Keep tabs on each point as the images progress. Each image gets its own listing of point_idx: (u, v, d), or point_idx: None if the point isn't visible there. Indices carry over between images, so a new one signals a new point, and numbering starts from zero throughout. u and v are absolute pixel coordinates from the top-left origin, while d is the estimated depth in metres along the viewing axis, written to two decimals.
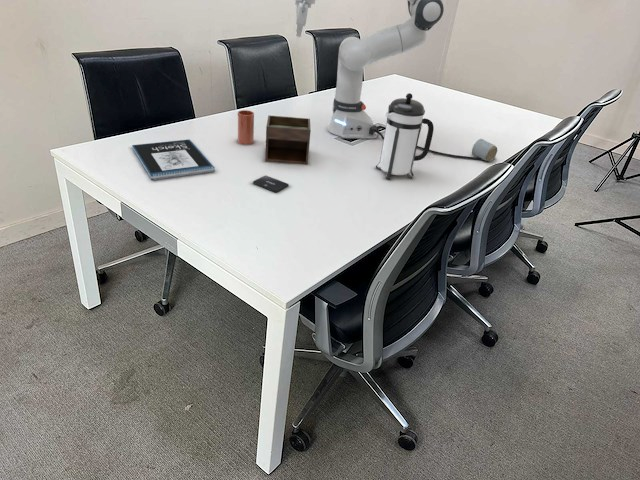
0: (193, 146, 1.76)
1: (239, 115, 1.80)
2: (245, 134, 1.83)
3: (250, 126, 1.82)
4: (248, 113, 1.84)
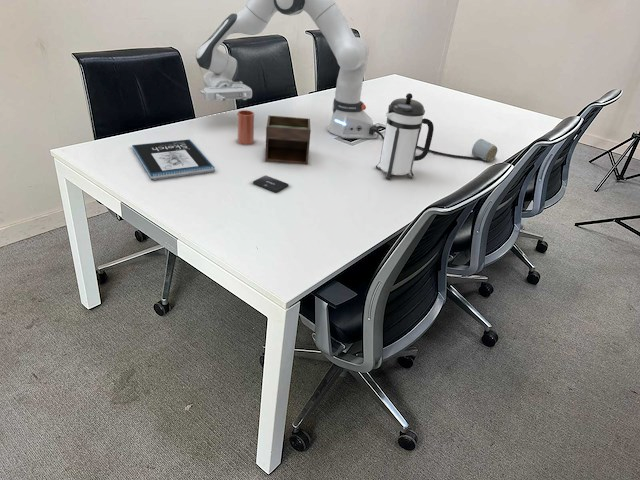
0: (193, 146, 1.76)
1: (239, 115, 1.80)
2: (245, 134, 1.83)
3: (250, 126, 1.82)
4: (248, 113, 1.84)
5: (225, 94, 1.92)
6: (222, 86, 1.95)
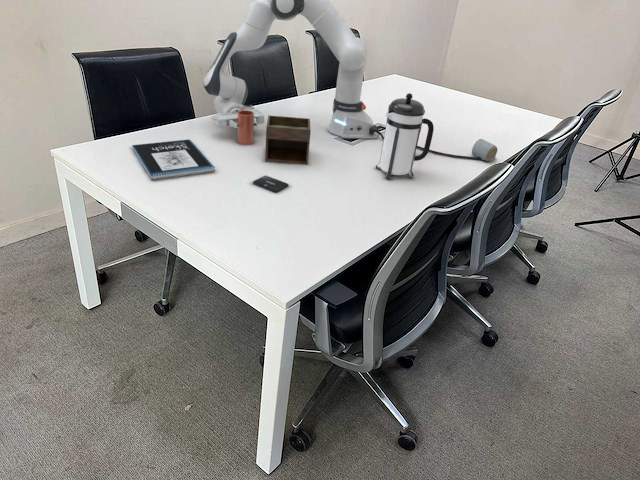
0: (193, 146, 1.76)
1: (239, 115, 1.80)
2: (245, 134, 1.83)
3: (250, 126, 1.82)
4: (248, 113, 1.84)
5: (237, 120, 1.86)
6: (233, 111, 1.89)
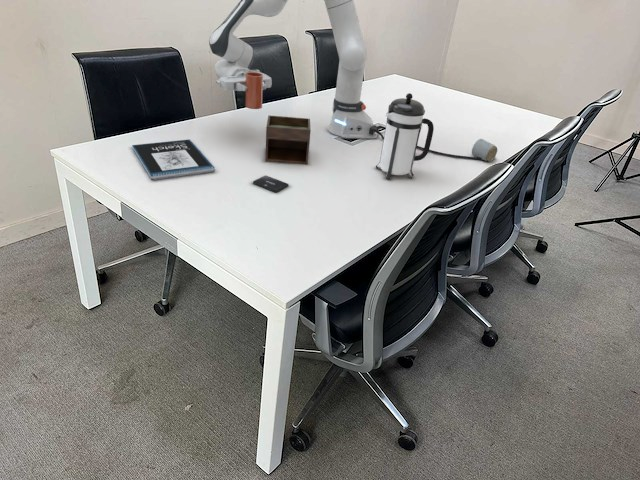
0: (193, 146, 1.76)
1: (248, 77, 1.69)
2: (254, 97, 1.72)
3: (260, 89, 1.72)
4: (256, 75, 1.74)
5: (244, 83, 1.75)
6: (239, 75, 1.78)
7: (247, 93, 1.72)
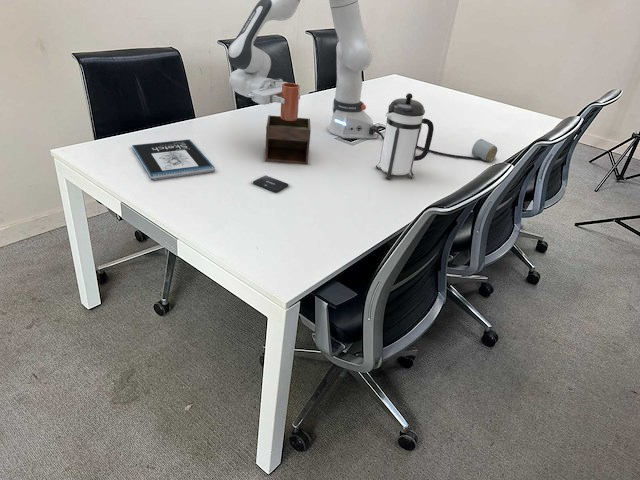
0: (193, 146, 1.76)
1: (287, 88, 1.63)
2: (293, 109, 1.67)
3: (298, 99, 1.66)
4: (290, 86, 1.68)
5: (277, 95, 1.68)
6: (268, 86, 1.70)
7: (285, 105, 1.66)
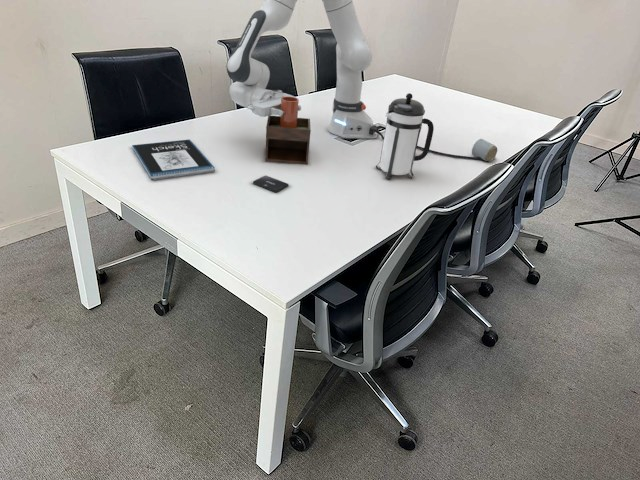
0: (193, 146, 1.76)
1: (286, 102, 1.65)
2: (292, 122, 1.69)
3: (297, 113, 1.69)
4: (289, 99, 1.70)
5: (277, 107, 1.70)
6: (268, 98, 1.72)
7: (284, 119, 1.69)
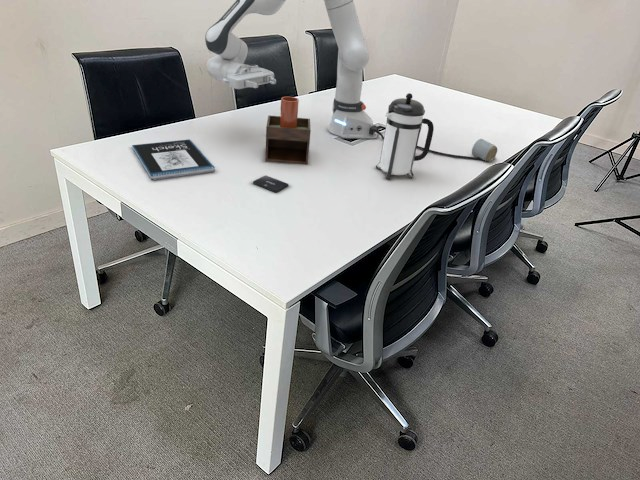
0: (193, 146, 1.76)
1: (286, 102, 1.65)
2: (292, 122, 1.69)
3: (297, 113, 1.69)
4: (289, 99, 1.70)
5: (252, 80, 1.73)
6: (243, 72, 1.75)
7: (284, 119, 1.69)
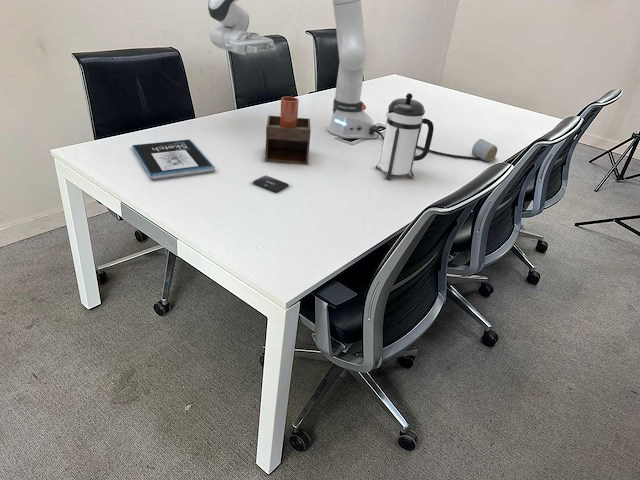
0: (193, 146, 1.76)
1: (286, 102, 1.65)
2: (292, 122, 1.69)
3: (297, 113, 1.69)
4: (289, 99, 1.70)
5: (253, 46, 1.81)
6: (244, 38, 1.83)
7: (284, 119, 1.69)
